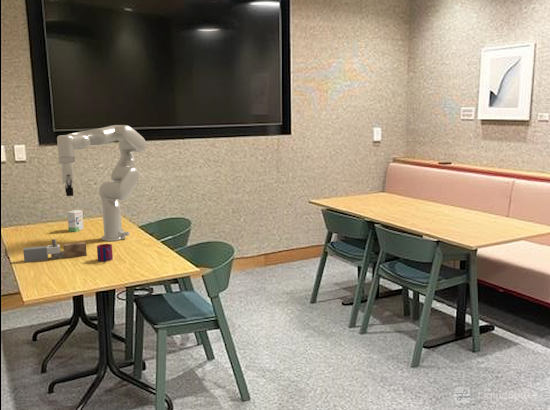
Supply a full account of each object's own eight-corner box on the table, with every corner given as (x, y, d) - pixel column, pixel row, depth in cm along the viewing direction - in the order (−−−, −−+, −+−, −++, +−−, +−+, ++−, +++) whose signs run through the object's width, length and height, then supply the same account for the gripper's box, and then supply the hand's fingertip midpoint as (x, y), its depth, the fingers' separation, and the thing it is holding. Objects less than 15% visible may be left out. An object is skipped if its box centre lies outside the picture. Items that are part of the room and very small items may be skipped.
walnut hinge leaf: (86, 253, 258) (84, 235, 256) (86, 255, 254) (85, 237, 252) (51, 257, 251) (49, 239, 250) (51, 259, 248) (49, 240, 246)
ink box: (76, 228, 316) (74, 209, 314) (84, 229, 315) (82, 209, 313) (68, 231, 308) (66, 212, 306) (76, 232, 306) (74, 212, 304)
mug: (111, 257, 251) (110, 243, 250) (114, 262, 242) (113, 247, 241) (97, 258, 248) (96, 244, 247) (99, 264, 239) (98, 249, 238)
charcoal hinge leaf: (24, 262, 243) (23, 250, 242) (25, 259, 248) (23, 247, 247) (60, 259, 248) (59, 246, 247) (60, 256, 253) (59, 244, 252)
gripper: (58, 159, 265) (61, 192, 268) (59, 162, 249) (61, 197, 252) (74, 158, 268) (76, 191, 271) (75, 161, 252) (78, 196, 255)
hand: (69, 194), depth 261 cm, fingers open, 9 cm apart
